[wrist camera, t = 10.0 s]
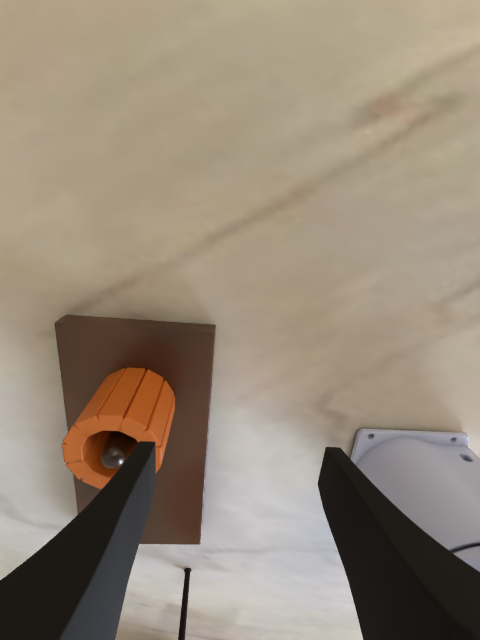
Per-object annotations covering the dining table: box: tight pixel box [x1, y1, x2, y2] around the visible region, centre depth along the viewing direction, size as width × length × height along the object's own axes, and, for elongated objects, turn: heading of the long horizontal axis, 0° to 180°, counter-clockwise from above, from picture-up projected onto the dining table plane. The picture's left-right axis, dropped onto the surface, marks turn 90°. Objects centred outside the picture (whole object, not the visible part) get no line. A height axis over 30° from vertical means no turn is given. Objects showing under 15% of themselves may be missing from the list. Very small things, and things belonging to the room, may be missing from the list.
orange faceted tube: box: [62, 368, 175, 489], centre depth 19 cm, size 5×5×5 cm
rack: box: [55, 315, 216, 545], centre depth 21 cm, size 10×20×7 cm, turn 175°
